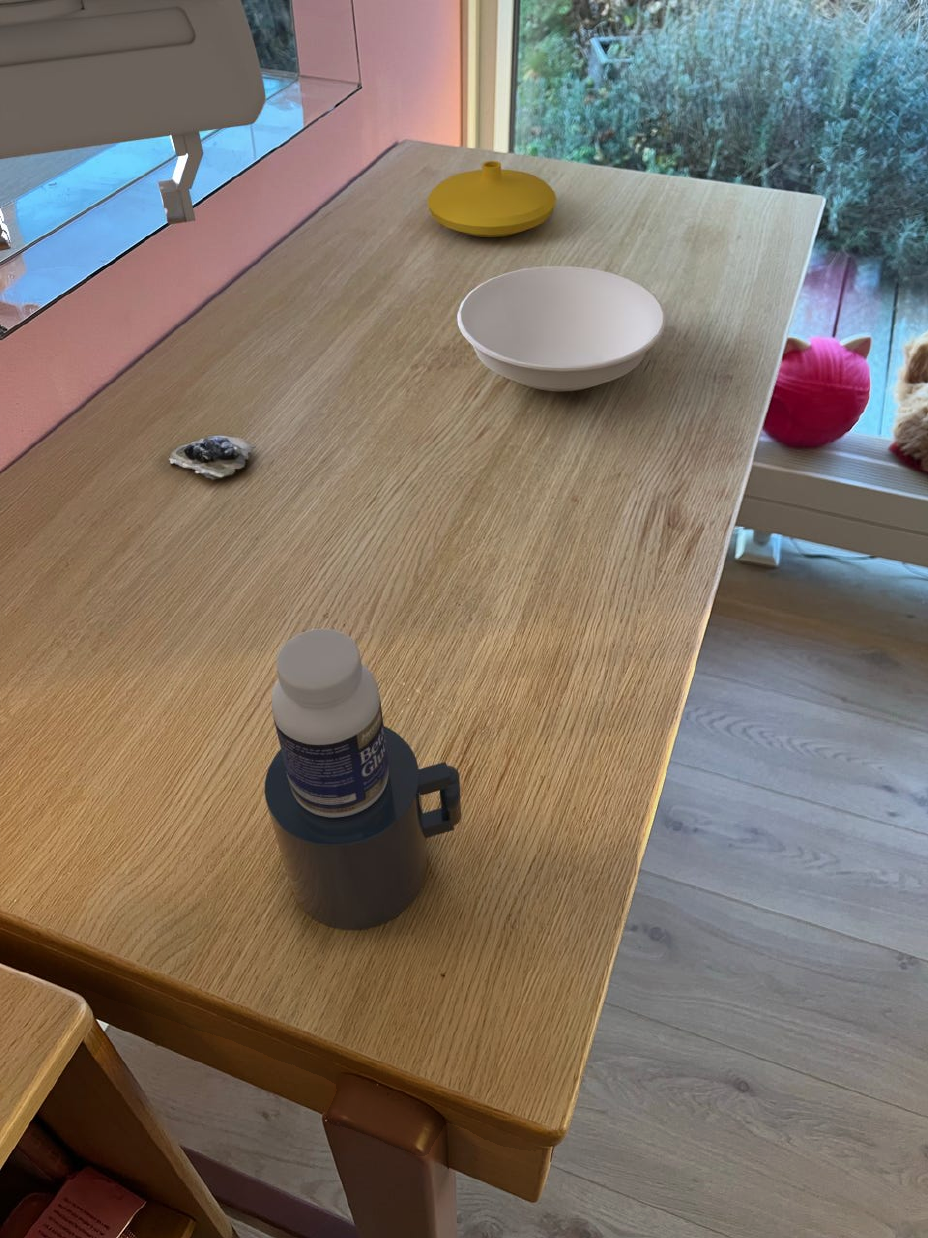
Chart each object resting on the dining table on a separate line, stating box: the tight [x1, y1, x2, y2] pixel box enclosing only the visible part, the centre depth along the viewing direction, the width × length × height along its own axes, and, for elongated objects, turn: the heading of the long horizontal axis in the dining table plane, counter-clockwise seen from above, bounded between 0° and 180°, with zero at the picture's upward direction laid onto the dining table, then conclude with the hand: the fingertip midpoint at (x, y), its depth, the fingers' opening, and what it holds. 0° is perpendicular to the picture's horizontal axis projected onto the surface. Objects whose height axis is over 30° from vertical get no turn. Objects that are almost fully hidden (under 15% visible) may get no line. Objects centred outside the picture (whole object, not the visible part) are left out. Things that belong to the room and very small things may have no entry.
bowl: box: [456, 265, 667, 392], centre depth 97 cm, size 20×20×6 cm
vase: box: [427, 160, 557, 238], centre depth 122 cm, size 16×16×7 cm
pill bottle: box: [270, 628, 389, 818], centre depth 51 cm, size 5×5×10 cm
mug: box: [264, 725, 462, 931], centre depth 58 cm, size 11×8×9 cm
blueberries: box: [168, 434, 257, 481], centre depth 90 cm, size 7×8×2 cm
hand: (90, 233), depth 52 cm, fingers open, 8 cm apart
